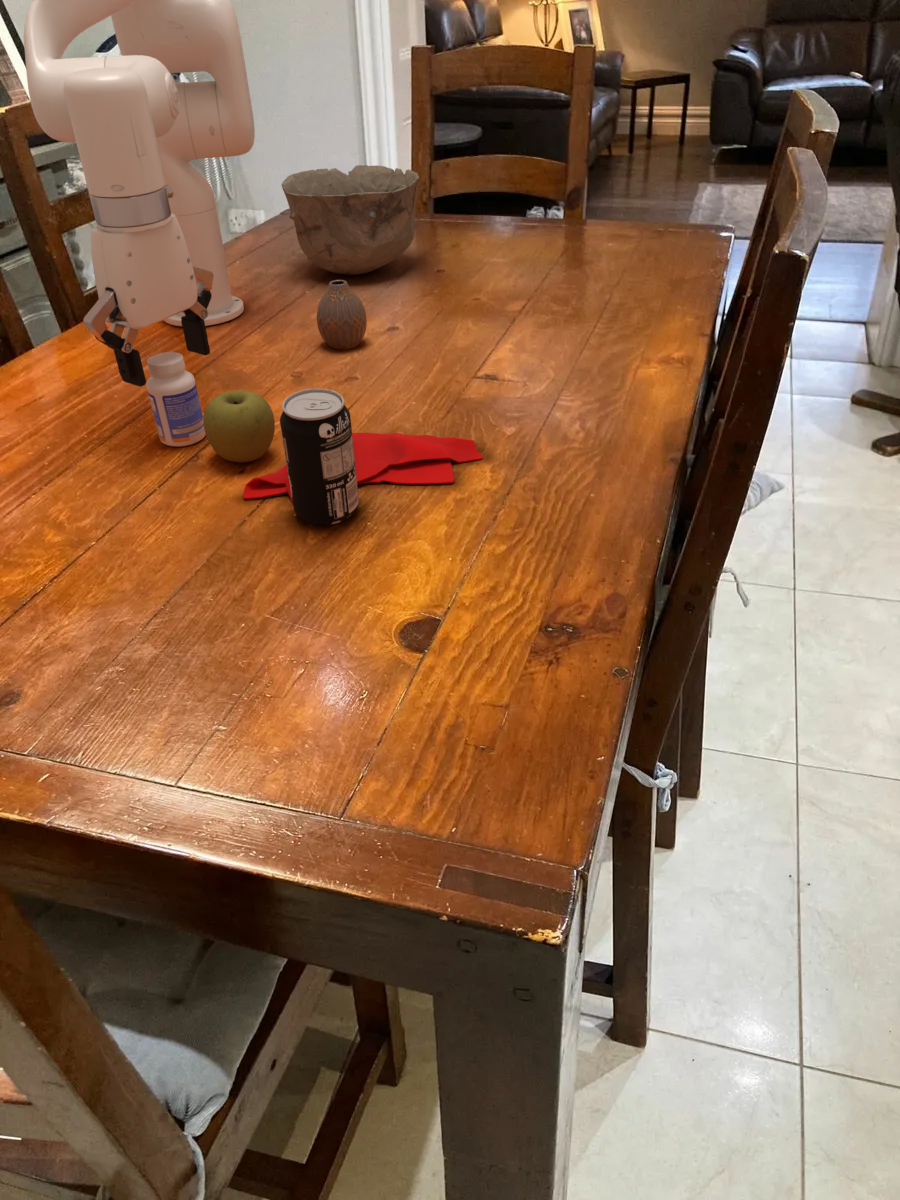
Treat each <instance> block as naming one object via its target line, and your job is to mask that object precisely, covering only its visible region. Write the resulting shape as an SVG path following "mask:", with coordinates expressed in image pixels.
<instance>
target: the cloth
mask: <svg viewBox="0 0 900 1200" xmlns="http://www.w3.org/2000/svg"><path fill="white" fill-rule="evenodd" d="M352 438H353V447H354V457H355V467H356V477H357V485H363V484H370V483H371V484H373V483H374V484H375V483H379V484H380V483H381V482H386V483H391V484H396V485H439V484H441V485H442V484H443V485H444V484H453V483H454V482H455V476H454V471H453V466H452V463H451V461H453V462H456V463H458V464H462V463H466V462H467V463H468V462H473V461H481V460H483V457H484V456H483V455H482V453H480V451H478V449H477V446H476V443H475V440H473V439H468V438H460V437H455V436H447V437H439V436H434V435H430V434H417V435H415V434H414V435H413V434H404V433H398V432H394V433H388V434H387V433H375V432H352ZM285 494H288V496H289V499H290V501H291V503H292V504H293V502H292V495H291V489H290V483H289V476H288V470H287V464H285V465H284V466H283V467H281V468H280V469H279V470H277V471H276V472H273V473H268V474H264V475H261V476H258V477H253V478H251V479H250V480H249V481H248V482H247V483H246V484H245V485H244V490H243V494H242V498H243V499H244V500H250V499H263V498H267V497H268V498H269V497H272V496H273V497H274V496H279V495H285Z"/></svg>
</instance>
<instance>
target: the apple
mask: <svg viewBox="0 0 900 1200" xmlns="http://www.w3.org/2000/svg"><path fill="white" fill-rule="evenodd" d="M203 413H204V414H203V419H204V429H205V433H206V435H205V437H206V439H207V442H208V443H209V444H210V447H211V448H212V450H214V451H215V453H216V454H217V455H219V456H220V457H221V458H222V459H224V460H226V461H228V462H234V463H249V462H253V461H256V460H258V459H260V458H261V457H262V456H264V455H265V453H266V452H267V451H268V450H269V449H270V447H271V445H272V443H273V440H274V436H275V431H276V422H275V421H276V420H275V416H274V412H273V409H272V407H271V406H270V404H269V403H268V401H267V400H266V399H265V398H264V397H263V396H262V395H260V394H258V393H256V392H255V391H252V390H244V389H243V390H240V389H239V390H229V391H225V392H222V393H220V394H218V395H216V396H215V397H213V398H212V400H210V401H209V402H208V404H207V406H206V408H205V410H204V412H203Z"/></svg>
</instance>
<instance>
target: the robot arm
mask: <svg viewBox="0 0 900 1200" xmlns="http://www.w3.org/2000/svg"><path fill="white" fill-rule="evenodd" d="M109 17H111V21H112V25H113V30H114V35H115V38H116V42H117V46H118V47H119V52H120V55H115V56H114V55H113V56H107V55H105V56H90V57H89V56H88V57H86V56H85V57H69V58H63V56H64V53H65V51H66V49H67V48H68V46H69V45H70V44H71V43H72V42H73V40H75V39H76V38H77V37H78V36H79V35H80V34H81V33H83V32H84V31H86V30H87V29H89V28H91V27H92V26H94V25H96V24H98V23H100V22H101V21H104V20H105V19H107V18H109ZM23 46H24V47H23V49H24V58H25V59H24V60H25V71H26V83H27V90H28V94H29V100H30V106H31V109H32V112H33V115H34V117H35V121H36V123H37V124H38V126H39V127H40V128H41V130H42V131H43V132H44V133H45V134H46V135H47V136H48V137H50V139H53V140H55V141H58V142H62V143H68V144H69V143H76V144H75V145H76V147H77V151H78V156H79V160H80V163H81V168H82V172H83V175H84V179H85V183H86V187H87V192H88V196H89V199H90V204H91V207H92V213H93V216H94V220H95V223H96V226H95V227H93V228H91V229H90V250H91V259H92V260H91V261H92V269H93V275H94V280H95V287H96V291H97V295H98V296H97V297H98V300H97V301H96V302H95V303H94V305H93V306H92V307H91V308H90V309H89V311H88V312H87V313H86V315H84V316H83V324H84V325H85V326H86V327H87V329H88V330H89V331H90V332H91V334H92V335H94V338H95V339H96V340H97V342H100V343H101V344H103V345H105V346H107V348H108V349H111V350H113V353H114V356H115V360H116V365H117V369H118V372H119V375H120V377H121V379H122V381H123V382H124V383H127V384H130V385H134V386H137V387H139V388H141V387H144V386H145V385H146V384H147V380H146V379H147V378H146V374H145V371H144V367H143V362H142V359H141V355H140V354H141V353H140V351H139V350H138V349H134V346H135V344H136V341H137V338H138V334H139V331H140V330H141V329H145V328H147V327H150V326H153V325H155V324H157V323H160V322H165V323H166V324H168V325H171V326H175V327H181V328H182V332H183V337H184V342H185V346H186V350H187V351H188V352H190V353H194V354H197V355H202V356H208V355H210V354H211V349H210V342H209V338H208V333H207V329H206V327H208V326H214V325H218V324H219V325H220V324H223V323H226V322H229V321H232V320H234V319H237V317H240V315H242V313H243V312H244V310H245V305H244V301H243V300H242V299H241V298H240V297H238V296H234V295H233V294H232V290H231V283H230V277H229V272H228V271H229V270H228V266H227V261H226V260H227V259H226V254H225V249H224V248H225V247H224V244H223V237H222V231H221V225H220V219H219V213H218V208H217V207H218V206H217V201H216V196H215V193H214V190H213V188H212V186H211V184H210V183H209V181H208V180H207V178H206V177H205V176H204V174H202V173H201V172H200V171H199V170H198V169H197V168H196V167H195V166H194V165H193V164H192V163H191V161H194V160H195V161H196V160H199V159H216V158H230V157H238V156H239V157H240V156H242V155H246V154H247V153H249V152H250V151H251V150H252V149H253V146H254V144H255V132H256V131H255V121H254V113H253V106H252V101H251V93H250V87H249V79H248V75H247V74H248V73H247V69H246V61H245V55H244V48H243V41H242V36H241V31H240V26H239V21H238V16H237V13H236V9H235V7H234V6H233V3H232V1H231V0H32V1H31V3H30V6H29V7H28V11H27V13H26V16H25V21H24V27H23ZM200 72H201V73H202V72H205V73H207V74H209V75H210V76H211V77H212V78H213V80H204V81H189V82H187V81H179V82H176V80H175V78H174V76H173V74H181V73H200ZM106 323H109V324H111V326H110V329H109V328H108V326H107V324H106ZM122 335H123V336H122Z"/></svg>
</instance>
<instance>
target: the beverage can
mask: <svg viewBox="0 0 900 1200" xmlns="http://www.w3.org/2000/svg"><path fill="white" fill-rule="evenodd" d="M281 408H282V412H281V415H280V417H279V425H280V431H281V432H280V433H281V437H282V444H283V450H284V456H285V463H286V464H285V465H287V470H288V476H289V483H290V489H291V495H292V500H291V503H292V502H293V503H292V508H293V510H294V512H295V514H296V515H297V516H298V517H300V518H301V519H302V520H304V521H305V522H307V523H309V524H312V525H317V526H329V525H330V526H331V525H335V524H338V523H341V522H343V521H345V520H347V519H349V518H350V517H351V516H352V515H353V513H354V512H355V511H356V509H357V508H358V507H359V503H360V497H359V488H358V486H359V485H358V484H357V477H356V467H355V457H354V447H353V438H352V433H353V430H352V429H353V428H352V420H351V413H350V410H349V409H348V407H347V406H346V405H345V399H344V397H343V396H342V394H341V393H339V392H338V391H336V390H332V389H328V388H306V389H302V390H298V391H296V392H294V393H292V394H289V395H288V396H287V397H286V398H285V399H284V400H283V402H282V405H281Z"/></svg>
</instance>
